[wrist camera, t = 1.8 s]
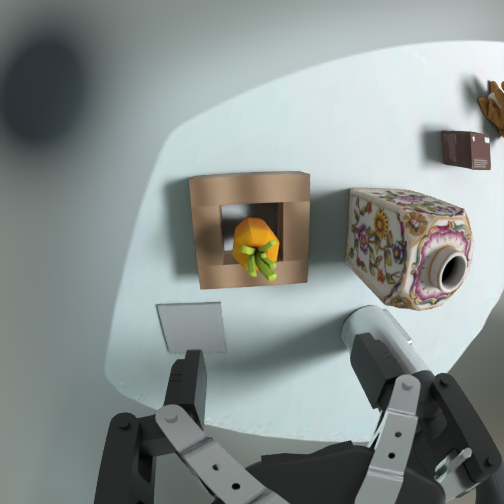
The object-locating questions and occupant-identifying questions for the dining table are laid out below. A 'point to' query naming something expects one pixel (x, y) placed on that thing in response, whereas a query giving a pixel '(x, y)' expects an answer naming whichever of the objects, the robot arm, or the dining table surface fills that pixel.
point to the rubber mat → (193, 327)
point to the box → (466, 149)
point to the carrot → (256, 247)
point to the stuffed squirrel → (494, 106)
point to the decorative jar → (408, 246)
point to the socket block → (244, 192)
